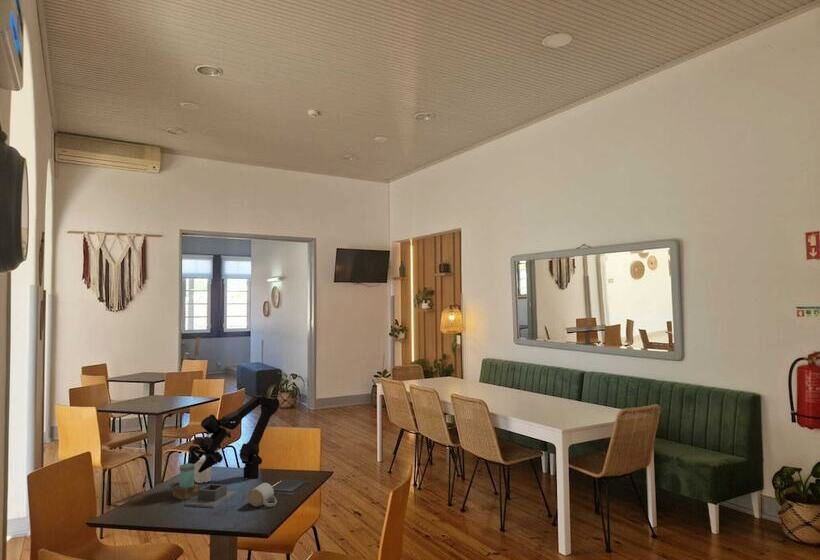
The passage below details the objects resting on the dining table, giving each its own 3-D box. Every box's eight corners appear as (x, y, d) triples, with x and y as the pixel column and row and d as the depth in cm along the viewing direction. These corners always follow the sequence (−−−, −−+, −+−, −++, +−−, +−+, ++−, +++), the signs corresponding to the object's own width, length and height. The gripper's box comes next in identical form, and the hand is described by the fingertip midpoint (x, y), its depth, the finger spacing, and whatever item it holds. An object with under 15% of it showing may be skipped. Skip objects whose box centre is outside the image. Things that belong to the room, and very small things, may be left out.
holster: (190, 491, 241) (190, 482, 241) (199, 494, 237) (199, 485, 237) (172, 496, 234) (173, 486, 235) (182, 499, 230) (182, 489, 230)
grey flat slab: (292, 492, 235) (260, 490, 239) (291, 497, 235) (260, 494, 239) (311, 479, 254) (282, 477, 258) (311, 483, 254) (282, 481, 258)
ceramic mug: (246, 506, 221) (247, 487, 222) (258, 500, 229) (258, 481, 229) (269, 509, 218) (270, 490, 219) (280, 503, 226) (281, 484, 226)
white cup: (194, 479, 260) (194, 457, 260) (212, 477, 262) (212, 456, 263) (193, 484, 252) (193, 461, 253) (211, 482, 254) (211, 460, 255)
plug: (188, 493, 238) (189, 462, 239) (193, 495, 236) (194, 464, 237) (179, 496, 235) (179, 465, 236) (184, 497, 233) (184, 466, 234)
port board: (211, 492, 240) (211, 480, 240) (236, 493, 238) (236, 482, 238) (186, 505, 222) (186, 493, 223) (213, 507, 220) (213, 495, 220)
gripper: (192, 427, 250) (169, 456, 240) (217, 431, 239) (193, 462, 229) (207, 441, 255) (184, 471, 245) (232, 447, 244) (209, 478, 235)
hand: (192, 470), depth 238 cm, fingers open, 9 cm apart
